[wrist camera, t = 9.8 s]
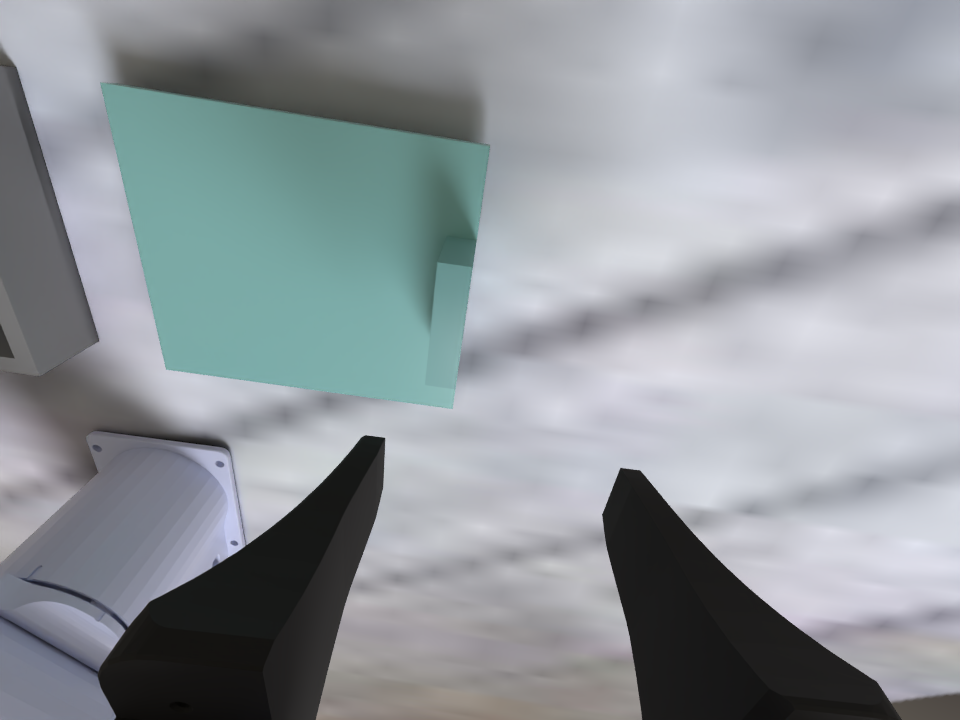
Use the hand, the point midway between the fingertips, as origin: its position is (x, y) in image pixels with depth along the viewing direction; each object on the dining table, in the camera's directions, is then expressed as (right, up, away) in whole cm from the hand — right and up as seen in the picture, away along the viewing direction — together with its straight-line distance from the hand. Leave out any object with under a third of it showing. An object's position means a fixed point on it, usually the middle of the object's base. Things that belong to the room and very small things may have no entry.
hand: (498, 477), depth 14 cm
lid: (-8, +8, +6) cm, 13 cm away
